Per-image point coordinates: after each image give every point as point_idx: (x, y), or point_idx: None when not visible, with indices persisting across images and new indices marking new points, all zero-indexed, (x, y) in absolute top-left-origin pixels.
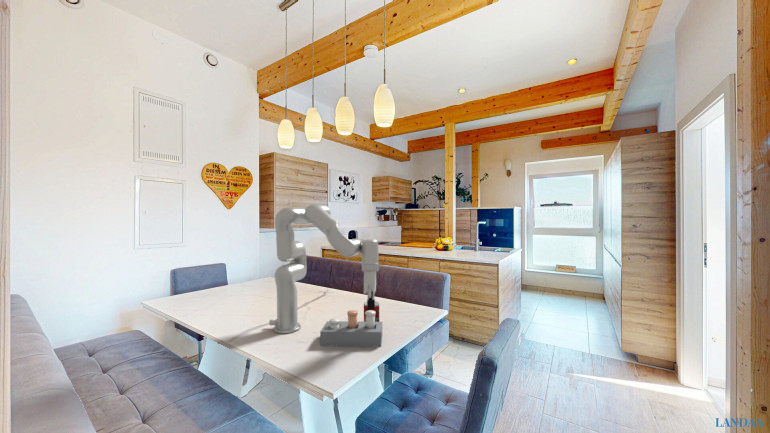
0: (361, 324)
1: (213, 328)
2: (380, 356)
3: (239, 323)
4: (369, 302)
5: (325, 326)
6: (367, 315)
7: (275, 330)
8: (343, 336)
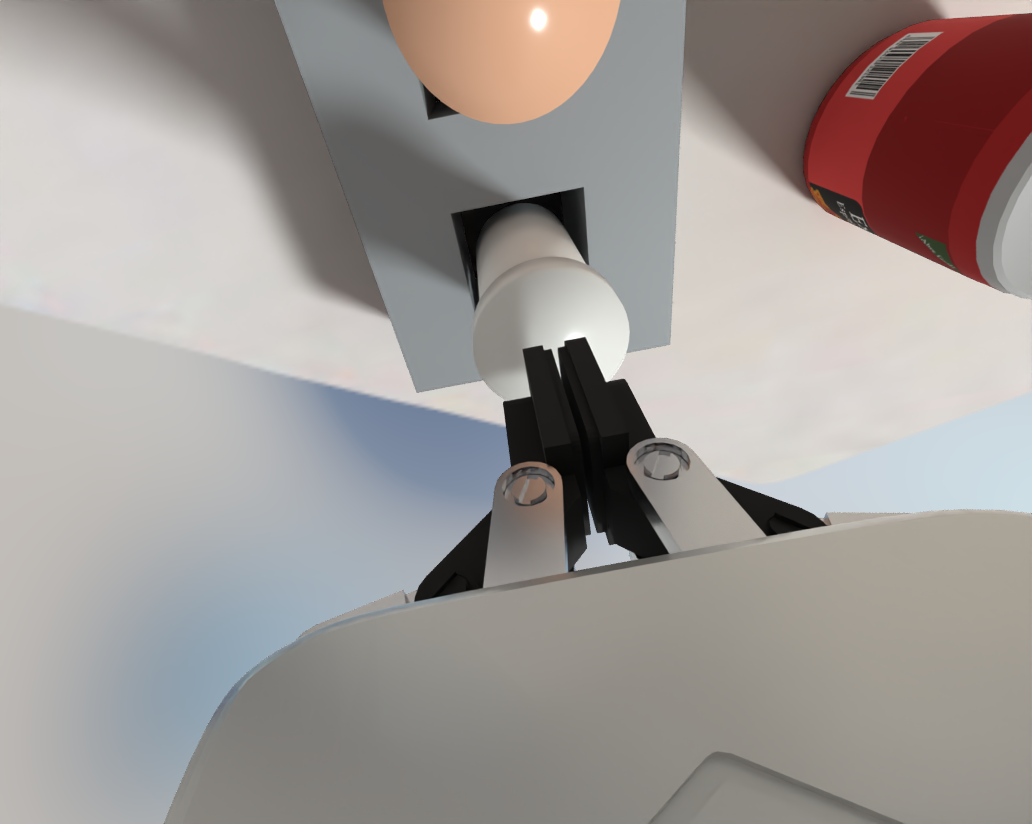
0: (578, 131)
1: None
2: (275, 363)
3: None
4: (512, 462)
5: None
6: (475, 312)
7: None
8: None
